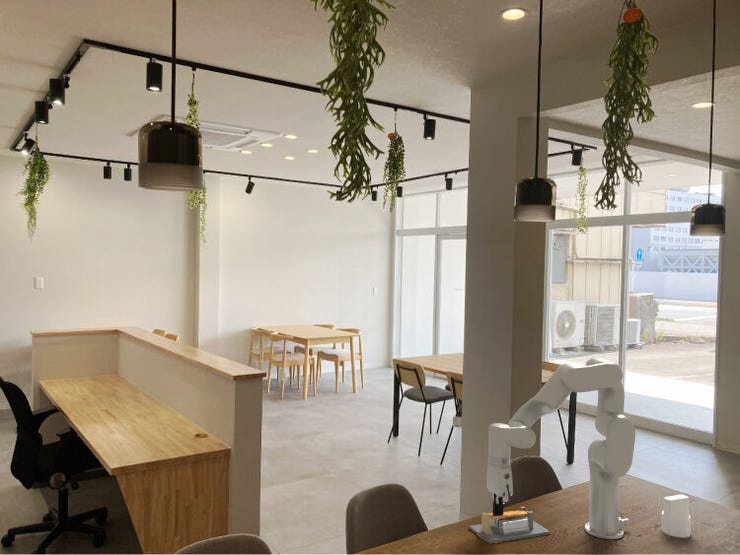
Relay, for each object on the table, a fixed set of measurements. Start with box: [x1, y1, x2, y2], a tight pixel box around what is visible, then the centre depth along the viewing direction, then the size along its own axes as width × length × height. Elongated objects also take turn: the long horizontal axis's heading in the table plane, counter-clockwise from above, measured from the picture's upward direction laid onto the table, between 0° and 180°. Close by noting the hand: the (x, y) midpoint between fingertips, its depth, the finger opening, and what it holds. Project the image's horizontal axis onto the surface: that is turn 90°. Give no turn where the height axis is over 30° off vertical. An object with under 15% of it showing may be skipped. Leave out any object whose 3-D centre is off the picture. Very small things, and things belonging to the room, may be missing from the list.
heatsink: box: [491, 516, 529, 536], centre depth 205 cm, size 10×9×4 cm
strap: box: [486, 510, 529, 519], centre depth 205 cm, size 16×3×1 cm, turn 110°
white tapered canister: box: [661, 494, 692, 538], centre depth 206 cm, size 9×9×12 cm
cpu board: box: [468, 506, 551, 544], centre depth 205 cm, size 24×13×7 cm, turn 110°
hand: (498, 513), depth 204 cm, fingers closed
